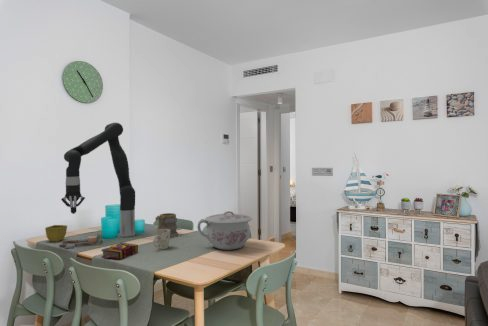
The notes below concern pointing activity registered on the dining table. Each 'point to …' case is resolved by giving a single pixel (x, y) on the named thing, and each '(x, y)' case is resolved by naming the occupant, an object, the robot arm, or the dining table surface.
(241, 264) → the dining table surface
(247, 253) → the dining table surface
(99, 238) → the lane
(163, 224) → the tankard
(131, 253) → the decorative book
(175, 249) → the dining table surface
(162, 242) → the mug
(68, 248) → the trap pads
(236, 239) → the chamber pot
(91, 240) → the terracotta block
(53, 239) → the flower pot
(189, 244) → the dining table surface
